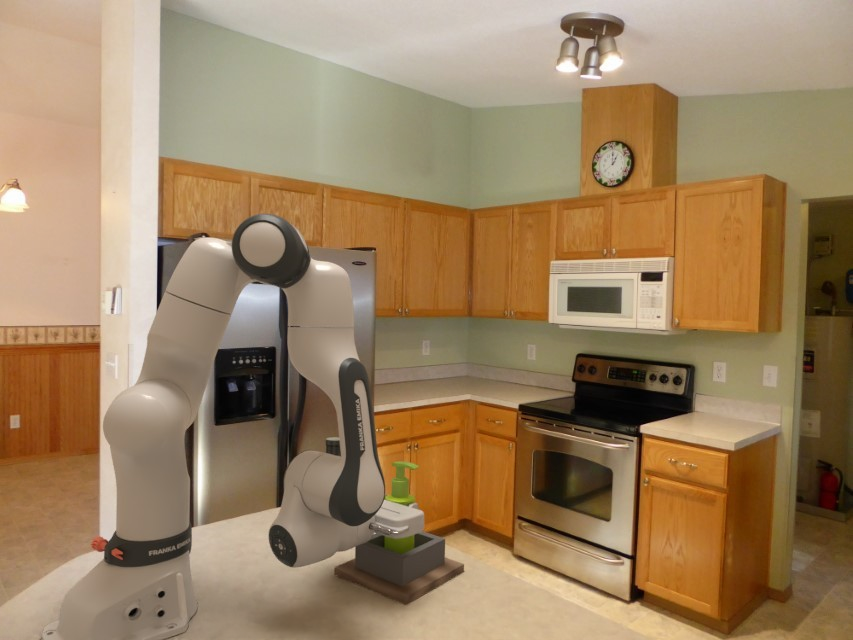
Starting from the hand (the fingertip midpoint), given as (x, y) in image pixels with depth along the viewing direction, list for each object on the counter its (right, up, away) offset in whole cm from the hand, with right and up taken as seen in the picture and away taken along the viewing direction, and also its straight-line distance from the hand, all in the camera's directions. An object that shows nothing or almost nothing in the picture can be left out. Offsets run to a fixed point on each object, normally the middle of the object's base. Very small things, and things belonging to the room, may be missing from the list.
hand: (401, 502), depth 119 cm
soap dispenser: (0, -12, -1) cm, 12 cm away
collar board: (0, -13, -1) cm, 14 cm away
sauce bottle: (-18, -13, +27) cm, 34 cm away
